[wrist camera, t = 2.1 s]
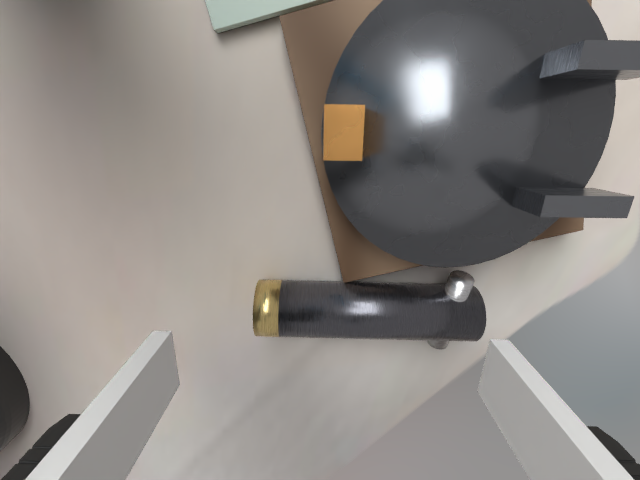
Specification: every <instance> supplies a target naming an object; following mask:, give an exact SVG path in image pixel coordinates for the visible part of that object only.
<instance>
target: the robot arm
mask: <svg viewBox="0 0 640 480" xmlns="http://www.w3.org/2000/svg"><path fill="white" fill-rule="evenodd" d="M179 385H180V382H179V376H178V369H177V363H176V356H175V350H174V343H173V337H172V331H152V333H151V334H150V335H149V336H148V337H147V338H146V340H145V341H144V342H143V343H142V344H141V345H140V347H139V348H138V349H137V350H136V351H135V352H134V353H133V355H132V356H131V357H130V358H129V359H128V360H127V362H126V363H125V364H124V365H123V366H122V367H121V369H120V370H119V371H118V372H117V373H116V374H115V376H114V377H113V378H112V379H111V380H110V381H109V383H108V384H107V385H106V386H105V387H104V388H103V390H102V391H101V392H100V393H99V394H98V395H97V396H96V398H95V399H94V400H93V401H92V402H91V403H90V405H89V406H88V407H87V408H86V409H85V410H84V412H83V413H82V414H68V415H67V416H65V417H64V418H63V419H61V420H60V421H59V422H57V423H56V424H54V425H53V426H52V427H50V428H49V429H48V430H47V431H46V432H45V433H44V434H43V435H42V436H41V437H40V439H39V440H38V441H37V442H36V443H35V444H34V445H33V448H32V449H29V450H28V451H27V453H26V454H25V455H24V456H23V457H22V458H21V459H20V460H19V463H18V464H15V465H14V467H13V468H12V469H11V470H10V471H9V472H8V473H7V474H6V475H5V476H4V477H3V478H2V479H1V480H126V478H127V476H128V474H129V473H130V471H131V469H132V467H133V466H134V464H135V462H136V460H137V459H138V457H139V455H140V453H141V452H142V450H143V448H144V446H145V445H146V443H147V441H148V439H149V438H150V436H151V434H152V432H153V431H154V429H155V427H156V425H157V424H158V422H159V420H160V418H161V417H162V415H163V413H164V411H165V409H166V408H167V406H168V404H169V402H170V401H171V399H172V397H173V395H174V394H175V392H176V390H177V388H178V387H179ZM477 392H478V394H479V396H480V397H481V399H482V401H483V402H484V404H485V406H486V407H487V408H488V410H489V412H490V414H491V416H492V417H493V419H494V421H495V422H496V424H497V426H498V427H499V429H500V431H501V432H502V434H503V436H504V437H505V439H506V441H507V442H508V444H509V446H510V447H511V449H512V451H513V452H514V454H515V456H516V457H517V459H518V461H519V463H520V464H521V466H522V467H523V469H524V471H525V473H526V474H527V476H528V478H529V479H530V480H640V464H637V463H636V462H635V459H634V458H633V457H632V456H631V455H630V454H629V453H628V452H627V451H626V450H625V449H624V448H623V447H622V446H621V445H620V444H619V443H618V442H617V441H616V440H614V439H613V438H612V437H610V436H609V435H608V434H606V433H605V432H603V431H602V430H601V429H599V428H598V427H589V426H588V427H587V426H585V424H584V423H583V422H582V421H581V420H580V419H579V418H578V417H577V416H576V414H575V413H574V412H573V411H572V410H571V409H570V408H569V407H568V406H567V404H566V403H565V402H564V401H563V400H562V399H561V398H560V397H559V396H558V394H557V393H556V392H555V391H554V390H553V389H552V388H551V387H550V385H549V384H548V383H547V382H546V381H545V380H544V379H543V378H542V377H541V375H540V374H539V373H538V372H537V371H536V370H535V369H534V368H533V367H532V365H531V364H530V363H529V362H528V361H527V360H526V359H525V358H524V357H523V355H522V354H521V353H520V352H519V351H518V350H517V349H516V348H515V346H514V345H513V344H512V343H511V342H510V341H509V340H498V339H490V341H489V345H488V349H487V353H486V358H485V362H484V366H483V370H482V374H481V379H480V383H479V388H478V391H477ZM29 406H30V402H29V393H28V389H27V386H26V383H25V381H24V378H23V376H22V374H21V372H20V371H19V369H18V367H17V366H16V364H15V363H14V361H13V360H12V359H11V358H10V356H9V355H8V354H7V353H6V352H5V351H4V350H3V349H2V347H1V346H0V451H1V450H2V449H3V448H4V447H5V446H6V445H7V444H8V443H9V442H10V441H11V440H12V439H13V438H14V437H15V436H16V435H17V434H18V433H19V432H20V431H21V429H22V428H23V426H24V424H25V423H26V420H27V417H28V414H29Z"/></svg>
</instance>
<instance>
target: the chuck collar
mask: <svg viewBox="0 0 640 480" xmlns="http://www.w3.org/2000/svg"><path fill="white" fill-rule="evenodd" d="M639 77H640V41H624V40H608V38H607V35H606V33H605V31H604V29H603V27H602V24H601V22H600V20H599V18H598V16H597V15H596V13H595V12H594V10H593V9H592V7H591V6H590V4H589V3H588V2H587V0H383V1H382V2H381V3H380V4H379V5H378V6H377V7H376V8H374V9H373V10H372V11H371V12H370V14H369V15H368V16H367V17H366V19H365V20H364V21H363V22H362V24H361V25H360V26H359V27H358V28H357V30H356V31H355V33H354V34H353V36H352V38H351V39H350V41H349V42H348V44H347V46H346V47H345V49H344V50H343V53H342V55H341V57H340V59H339V61H338V63H337V65H336V68H335V70H334V72H333V75H332V78H331V81H330V84H329V87H328V91H327V94H326V99H325V104H324V109H323V114H322V125H321V145H322V154H323V160H324V166H325V171H326V174H327V177H328V180H329V184H330V187H331V190H332V192H333V194H334V196H335V198H336V200H337V202H338V205H339V206H340V208H341V209H342V211H343V212H344V214H345V215H346V217H347V219H348V220H349V221H350V222H351V223H352V224H353V226H354V227H355V228H356V229H357V230H358V231H359V232H360V233H361V234H362V235H363V236H364V237H365V238H366V239H368V240H369V241H370V242H371V243H373V244H374V245H376V246H377V247H378V248H380V249H381V250H383V251H385V252H387V253H389V254H391V255H393V256H395V257H397V258H399V259H402V260H405V261H408V262H411V263H415V264H420V265H425V266H434V267H460V266H467V265H473V264H478V263H482V262H485V261H489V260H492V259H495V258H498V257H500V256H503V255H505V254H508V253H510V252H512V251H514V250H516V249H518V248H519V247H521V246H523V245H525V244H527V243H528V242H530V241H531V240H533V239H534V238H536V237H537V236H538V235H540V234H541V233H543V232H544V231H545V230H546V229H547V228H549V227H550V226H551V225H552V224H553V223H554V222H556V221H557V220H558V219H559V218H560V217H571V218H627V216H628V213H629V211H630V208H631V205H632V202H633V199H634V196H630V195H625V194H620V193H615V192H610V191H605V190H600V189H595V188H584V187H585V186H586V184H587V183H588V181H589V179H590V178H591V176H592V175H593V173H594V170H595V168H596V166H597V164H598V162H599V160H600V158H601V156H602V153H603V151H604V148H605V145H606V142H607V140H608V137H609V133H610V128H611V124H612V120H613V115H614V106H615V97H616V86H615V80H627V79H633V78H639Z"/></svg>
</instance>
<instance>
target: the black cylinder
mask: <svg viewBox="0 0 640 480" xmlns="http://www.w3.org/2000/svg"><path fill="white" fill-rule="evenodd" d="M473 284H474V278H473V277H472V276H471V275H470V274H468V273H466V272H464V271H459V270H456V271H452V272H451V273H450V275H449V278H448V281H447V284H408V283H370V282H345V283H344V282H332V281H294V280H259V281H258V283H257V286H256V290H255V296H254V305H253V329H254V334H255V336H265V337H309V338H353V339H396V340H427V341H428V343H429V344H430V345H431V346H432V347H434V348H436V349H444V348H446V347H447V345H448V342H449V341H478V340H479V339H480V338H481V337H482V335H483V333H484V330H485V326H486V310H485V305H484V301H483V298H482V296H481V294H480V292H479V291H478V289H477V288H476V287H474V286H473Z"/></svg>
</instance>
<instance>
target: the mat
mask: <svg viewBox="0 0 640 480" xmlns="http://www.w3.org/2000/svg"><path fill="white" fill-rule="evenodd" d="M328 1H332V0H205V2H206V5H207V9H208V12H209V15H210V19H211V22H212V25H213V28H214V30H215V31H216V32H217V33H220V32H224V31H227V30H231V29H234V28H238V27H241V26H245V25H248V24H252V23H255V22H259V21H262V20H265V19H269V18H272V17H276V16H279V15H283V14H286V13H290V12H293V11H297V10H300V9H304V8H307V7H311V6H314V5H318V4H321V3H325V2H328Z"/></svg>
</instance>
